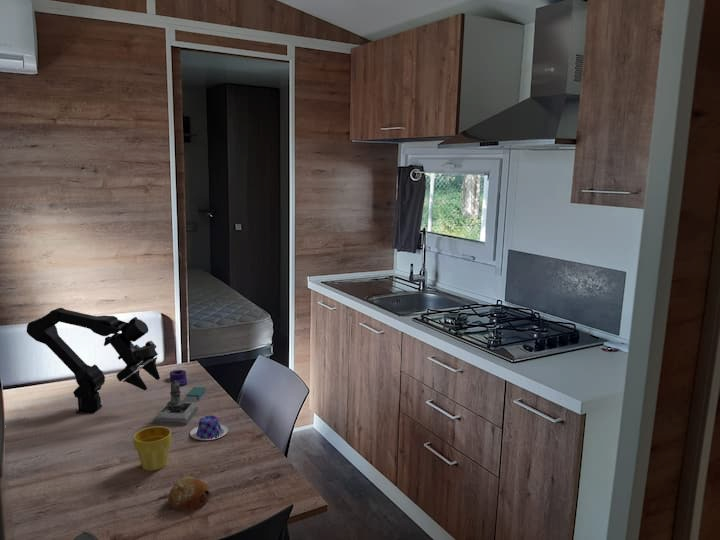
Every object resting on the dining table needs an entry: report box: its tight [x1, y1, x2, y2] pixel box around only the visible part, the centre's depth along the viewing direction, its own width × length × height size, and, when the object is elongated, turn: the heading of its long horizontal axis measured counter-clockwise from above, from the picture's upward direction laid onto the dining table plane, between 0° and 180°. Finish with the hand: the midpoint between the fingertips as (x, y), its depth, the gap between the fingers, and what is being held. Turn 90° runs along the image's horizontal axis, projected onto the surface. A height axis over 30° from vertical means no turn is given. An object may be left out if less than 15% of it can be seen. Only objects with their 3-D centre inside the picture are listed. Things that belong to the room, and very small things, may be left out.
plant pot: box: [132, 425, 173, 472], centre depth 168 cm, size 10×10×10 cm
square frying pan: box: [154, 386, 207, 425], centre depth 210 cm, size 11×29×4 cm, turn 176°
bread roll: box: [167, 475, 212, 512], centre depth 151 cm, size 10×10×8 cm
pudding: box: [189, 415, 229, 441], centre depth 190 cm, size 12×12×5 cm
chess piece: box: [167, 380, 185, 413], centre depth 201 cm, size 6×6×12 cm
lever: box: [169, 369, 188, 387], centre depth 235 cm, size 12×6×3 cm, turn 30°
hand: (152, 384), depth 203 cm, fingers open, 9 cm apart
